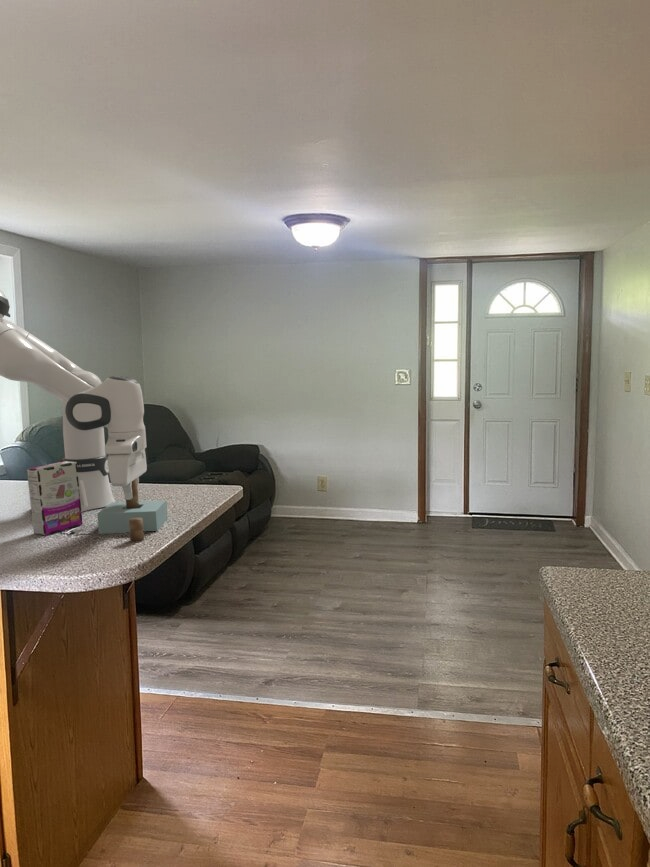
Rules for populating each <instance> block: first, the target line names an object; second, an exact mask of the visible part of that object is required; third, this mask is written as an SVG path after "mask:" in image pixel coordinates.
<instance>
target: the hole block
mask: <svg viewBox="0 0 650 867" xmlns="http://www.w3.org/2000/svg"><path fill="white" fill-rule="evenodd" d="M138 501H139V508H137V509H126V501H117V502H116V501H115V502H112V503H111V504H109V505H108V506H105V507H103V508H102V509H101V510H100V511H99V512H98V513H97V514H96V515H97V524H98V525H97V527H98V528H97V529H98V535H99V534H100V535H102V534H103V535H104V534H125V533H126V532H130V526H129V519H131V518H137V517H140V518H143V531H156V532H158V531H159V530H160V529H161V528H160V527H163V525H164V524H165V523H166V522H167V521H168V519H169V518H168V504H167V503H168V502H167V500H163V499H162V500H142V501H140V500H138ZM165 521H166V522H165ZM164 522H165V523H164Z"/></svg>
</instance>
